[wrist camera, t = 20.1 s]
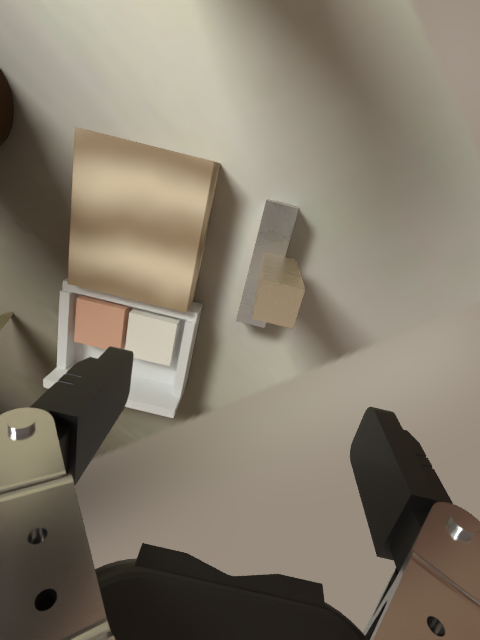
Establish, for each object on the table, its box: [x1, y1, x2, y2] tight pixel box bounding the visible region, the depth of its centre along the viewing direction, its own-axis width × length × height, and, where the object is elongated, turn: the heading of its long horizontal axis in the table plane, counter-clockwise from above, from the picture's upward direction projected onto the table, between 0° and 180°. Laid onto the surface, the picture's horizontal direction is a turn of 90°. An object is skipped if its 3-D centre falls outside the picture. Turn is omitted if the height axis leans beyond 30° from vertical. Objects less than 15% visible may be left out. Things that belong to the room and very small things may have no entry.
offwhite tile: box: [125, 308, 181, 366], centre depth 38 cm, size 5×5×2 cm
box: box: [43, 278, 203, 418], centre depth 38 cm, size 11×14×6 cm
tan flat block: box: [67, 127, 220, 313], centre depth 34 cm, size 14×12×4 cm
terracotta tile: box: [74, 295, 131, 349], centre depth 38 cm, size 5×5×2 cm
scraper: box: [236, 199, 305, 329], centre depth 31 cm, size 4×12×13 cm, turn 167°
